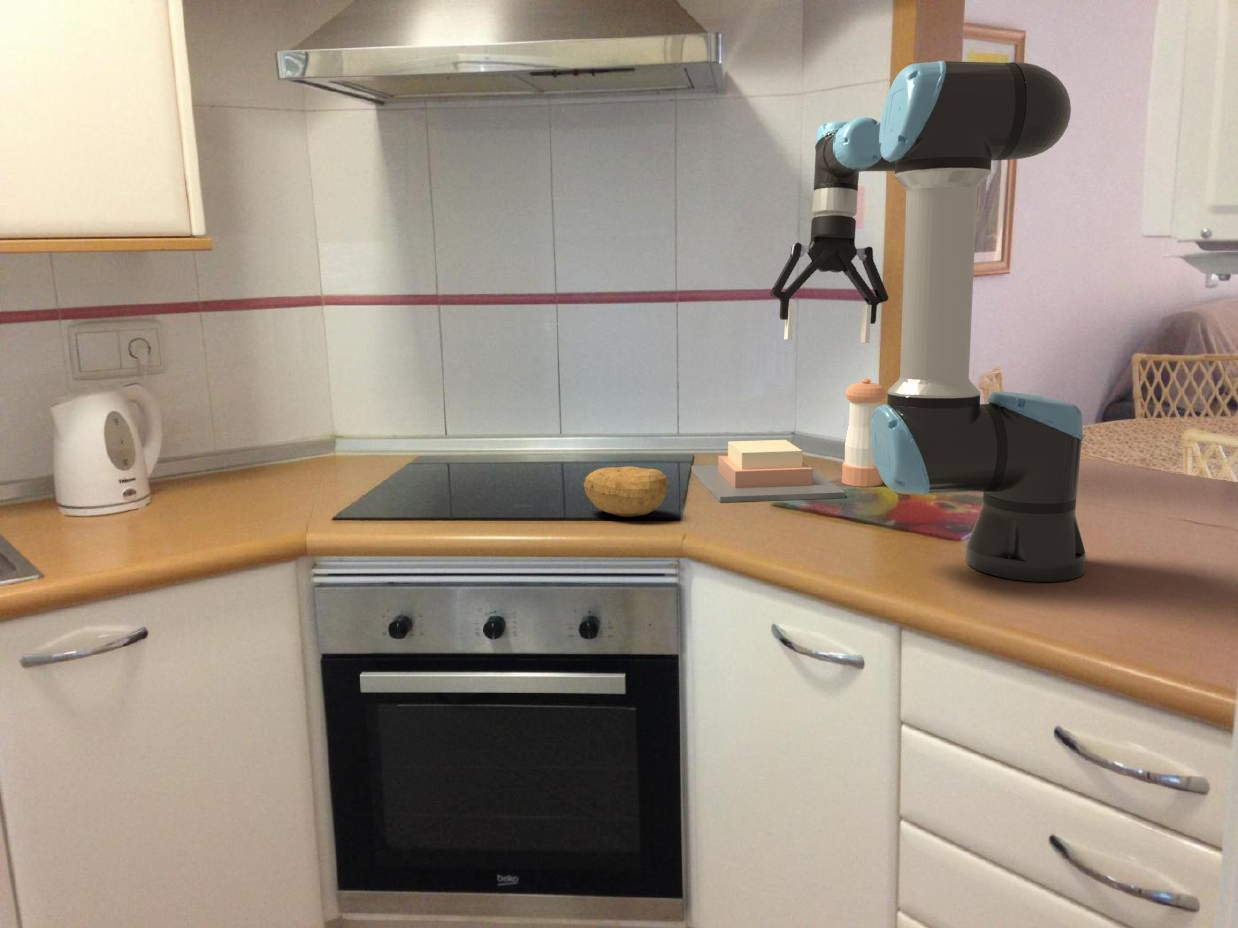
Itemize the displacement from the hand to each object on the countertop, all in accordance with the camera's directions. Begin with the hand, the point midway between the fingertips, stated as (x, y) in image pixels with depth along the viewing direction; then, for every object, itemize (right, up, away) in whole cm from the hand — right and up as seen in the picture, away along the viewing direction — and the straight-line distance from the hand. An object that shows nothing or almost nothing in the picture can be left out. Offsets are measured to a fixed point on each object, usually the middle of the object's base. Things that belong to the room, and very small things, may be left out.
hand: (826, 341), depth 181 cm
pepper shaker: (+9, -25, +10) cm, 28 cm away
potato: (-35, -30, -11) cm, 47 cm away
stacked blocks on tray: (-9, -25, +10) cm, 29 cm away
